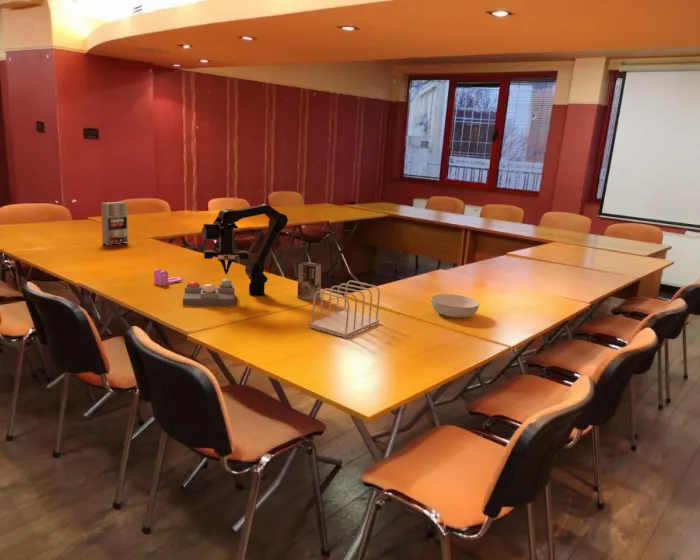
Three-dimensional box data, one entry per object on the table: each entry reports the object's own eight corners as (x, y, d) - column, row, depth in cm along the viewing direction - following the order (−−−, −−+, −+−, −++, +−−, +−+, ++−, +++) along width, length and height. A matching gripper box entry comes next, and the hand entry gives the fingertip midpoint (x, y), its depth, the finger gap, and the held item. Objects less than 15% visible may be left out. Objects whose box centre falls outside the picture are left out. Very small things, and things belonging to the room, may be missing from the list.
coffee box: (320, 298, 258) (322, 264, 254) (314, 301, 252) (316, 266, 248) (303, 294, 262) (305, 261, 258) (296, 297, 256) (298, 263, 252)
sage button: (231, 285, 250) (231, 279, 249) (231, 288, 246) (231, 281, 245) (221, 285, 249) (221, 278, 248) (221, 288, 245) (221, 281, 244)
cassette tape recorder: (108, 246, 333) (107, 204, 327) (102, 244, 336) (100, 202, 330) (128, 243, 344) (127, 202, 338) (122, 242, 347) (121, 201, 341)
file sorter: (346, 339, 208) (349, 299, 204) (308, 328, 217) (310, 289, 213) (379, 323, 229) (382, 286, 225) (343, 314, 238) (346, 278, 234)
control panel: (233, 294, 253) (234, 284, 252) (234, 305, 237) (234, 294, 236) (185, 294, 249) (185, 283, 247) (182, 305, 232) (182, 294, 231)
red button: (198, 287, 247) (198, 281, 247) (198, 290, 243) (198, 284, 242) (188, 287, 246) (188, 281, 246) (187, 290, 242) (187, 283, 241)
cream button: (214, 290, 240) (214, 284, 239) (214, 293, 236) (214, 286, 235) (204, 290, 239) (204, 283, 238) (203, 293, 235) (203, 286, 234)
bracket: (161, 286, 259) (161, 271, 257) (153, 283, 262) (153, 269, 260) (184, 281, 269) (184, 267, 268) (176, 279, 272) (176, 265, 271)
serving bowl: (473, 325, 235) (475, 310, 233) (424, 317, 242) (426, 301, 240) (480, 312, 254) (482, 298, 252) (434, 305, 261) (436, 291, 259)
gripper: (247, 235, 252) (247, 269, 256) (205, 234, 248) (205, 269, 252) (248, 240, 241) (248, 275, 245) (203, 239, 237) (204, 275, 241)
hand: (226, 273), depth 246 cm, fingers closed
